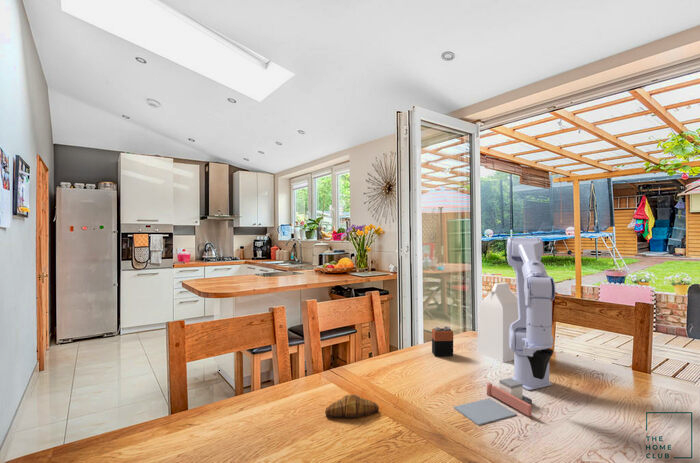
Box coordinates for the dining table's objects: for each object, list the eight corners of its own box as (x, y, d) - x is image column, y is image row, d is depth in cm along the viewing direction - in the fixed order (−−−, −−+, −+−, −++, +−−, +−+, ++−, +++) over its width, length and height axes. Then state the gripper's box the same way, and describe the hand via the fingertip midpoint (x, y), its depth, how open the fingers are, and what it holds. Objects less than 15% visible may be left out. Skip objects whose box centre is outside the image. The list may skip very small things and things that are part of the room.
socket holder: (510, 392, 102) (510, 388, 102) (531, 403, 96) (531, 399, 95) (493, 395, 100) (493, 392, 100) (514, 407, 93) (514, 404, 93)
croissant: (375, 406, 95) (375, 386, 95) (382, 419, 88) (382, 398, 88) (323, 410, 92) (323, 390, 92) (326, 424, 86) (326, 403, 86)
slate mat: (489, 399, 98) (489, 398, 98) (516, 415, 89) (516, 414, 89) (453, 407, 93) (453, 406, 93) (478, 425, 85) (478, 424, 85)
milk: (502, 362, 125) (503, 286, 125) (476, 352, 135) (477, 282, 135) (525, 356, 131) (526, 284, 130) (499, 347, 141) (499, 280, 141)
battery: (453, 356, 131) (453, 328, 130) (435, 357, 130) (435, 329, 130) (449, 352, 135) (449, 325, 135) (431, 352, 134) (431, 325, 134)
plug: (510, 395, 100) (510, 377, 100) (522, 402, 96) (522, 383, 96) (499, 398, 98) (499, 380, 98) (511, 405, 95) (511, 386, 95)
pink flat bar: (489, 393, 101) (489, 382, 101) (532, 417, 89) (532, 405, 88) (485, 394, 101) (485, 383, 101) (527, 418, 88) (528, 406, 88)
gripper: (533, 316, 100) (533, 366, 100) (510, 326, 90) (510, 380, 90) (561, 321, 95) (561, 373, 95) (541, 332, 85) (540, 390, 85)
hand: (538, 377), depth 92 cm, fingers closed
